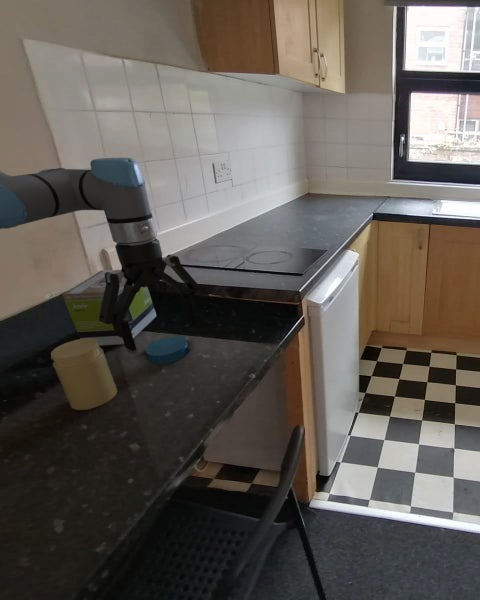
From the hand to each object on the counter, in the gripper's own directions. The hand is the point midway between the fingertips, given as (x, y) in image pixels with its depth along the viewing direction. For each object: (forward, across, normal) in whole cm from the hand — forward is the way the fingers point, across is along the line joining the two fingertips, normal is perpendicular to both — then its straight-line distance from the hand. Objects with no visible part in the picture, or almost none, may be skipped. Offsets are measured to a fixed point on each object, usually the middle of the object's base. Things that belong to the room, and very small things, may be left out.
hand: (162, 334), depth 88 cm
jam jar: (+5, -16, -2) cm, 17 cm away
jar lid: (+3, 0, 0) cm, 3 cm away
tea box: (+5, 0, +18) cm, 19 cm away
